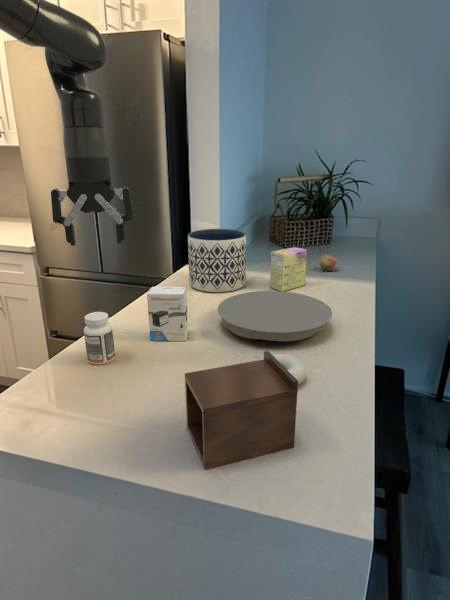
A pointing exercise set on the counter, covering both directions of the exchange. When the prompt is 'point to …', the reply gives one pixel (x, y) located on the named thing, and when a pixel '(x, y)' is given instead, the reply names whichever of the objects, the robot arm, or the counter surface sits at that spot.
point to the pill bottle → (99, 338)
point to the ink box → (167, 313)
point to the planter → (217, 260)
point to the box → (288, 268)
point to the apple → (328, 262)
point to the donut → (292, 366)
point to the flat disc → (274, 315)
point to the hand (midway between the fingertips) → (96, 243)
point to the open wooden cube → (241, 410)
